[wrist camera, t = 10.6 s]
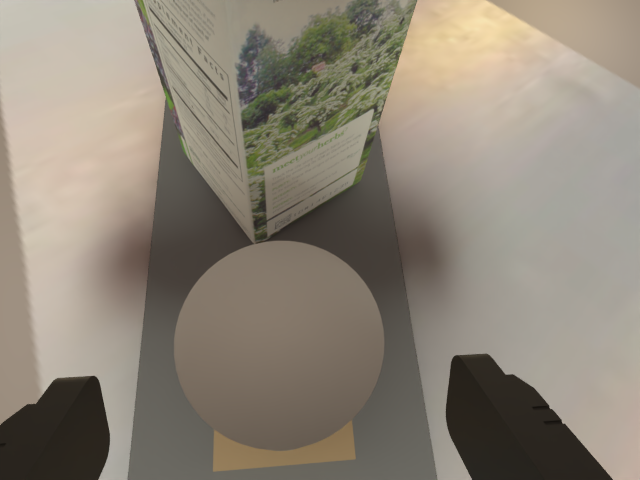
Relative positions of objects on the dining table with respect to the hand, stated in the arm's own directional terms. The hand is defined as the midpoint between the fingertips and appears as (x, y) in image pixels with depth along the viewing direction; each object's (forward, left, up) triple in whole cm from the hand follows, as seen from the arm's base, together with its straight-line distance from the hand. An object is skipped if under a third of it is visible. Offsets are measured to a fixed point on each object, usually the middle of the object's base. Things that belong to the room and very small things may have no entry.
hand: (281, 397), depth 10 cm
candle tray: (0, -6, -6) cm, 9 cm away
